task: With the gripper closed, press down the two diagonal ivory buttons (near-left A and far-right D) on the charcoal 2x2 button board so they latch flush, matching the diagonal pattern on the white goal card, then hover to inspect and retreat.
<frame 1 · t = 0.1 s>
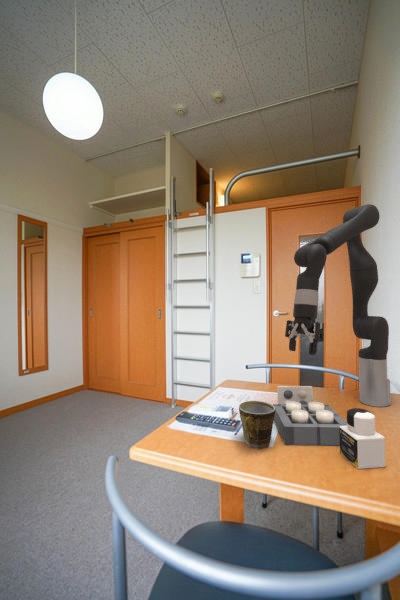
hand: (301, 352, 91), 22 cm above the table, tool pointing down, fingers open, 8 cm apart
medicine bottle: (361, 460, 68), on the table
board: (308, 431, 83), on the table
ceramic cup: (255, 446, 76), on the table
button B: (324, 417, 80), point 6 cm above the table, slide at 0.0 cm
button C: (293, 408, 87), point 6 cm above the table, slide at 0.0 cm
button D: (299, 417, 80), point 5 cm above the table, slide at 0.0 cm
goal card: (295, 411, 98), on the table
button A: (316, 408, 87), point 5 cm above the table, slide at 0.0 cm
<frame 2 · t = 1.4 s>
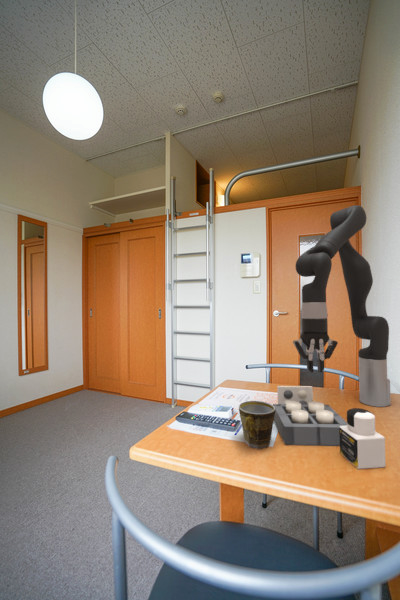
hand: (315, 371, 87), 17 cm above the table, tool pointing down, fingers closed
nothing on the table moved.
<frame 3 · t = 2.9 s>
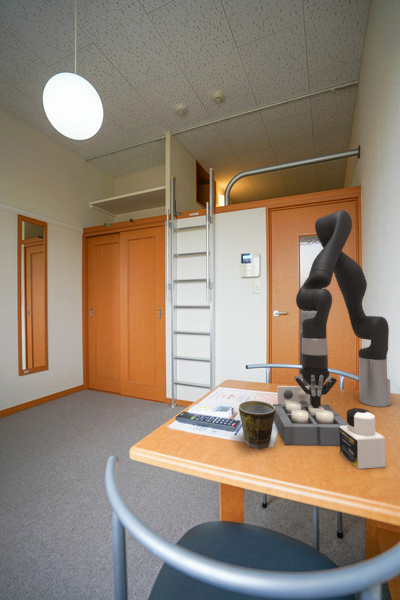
hand: (315, 407, 87), 6 cm above the table, tool pointing down, fingers closed
button A: (316, 412, 87), point 4 cm above the table, slide at 1.1 cm, touching gripper
everything else where it was.
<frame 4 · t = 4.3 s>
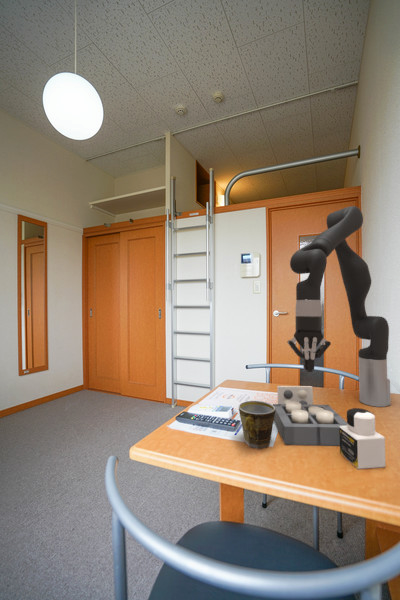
hand: (308, 371, 85), 18 cm above the table, tool pointing down, fingers closed
button A: (316, 413, 87), point 4 cm above the table, slide at 1.6 cm
everything else where it was.
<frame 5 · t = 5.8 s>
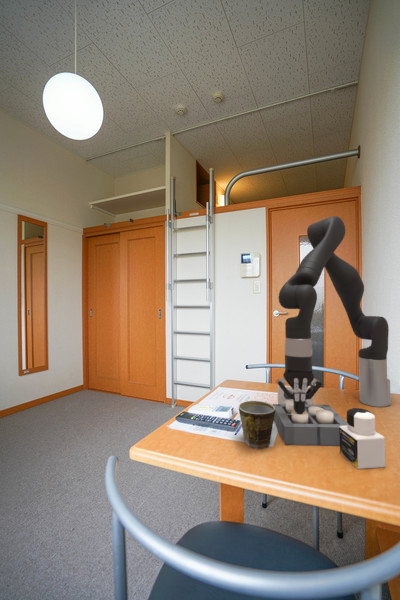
hand: (299, 413, 80), 7 cm above the table, tool pointing down, fingers closed
button D: (299, 418, 80), point 5 cm above the table, slide at 0.2 cm, touching gripper
everything else where it was.
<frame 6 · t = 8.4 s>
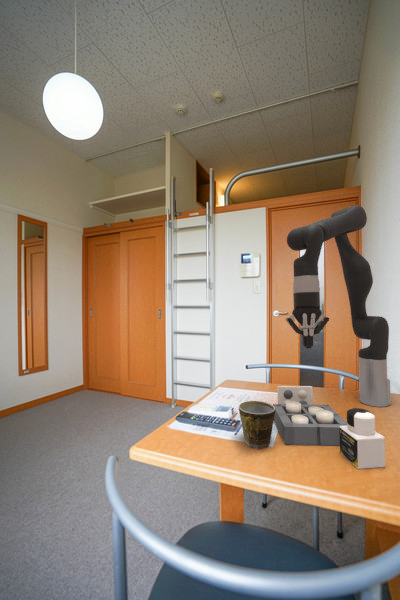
hand: (307, 347, 84), 25 cm above the table, tool pointing down, fingers closed
button D: (299, 423, 80), point 4 cm above the table, slide at 1.6 cm
everything else where it was.
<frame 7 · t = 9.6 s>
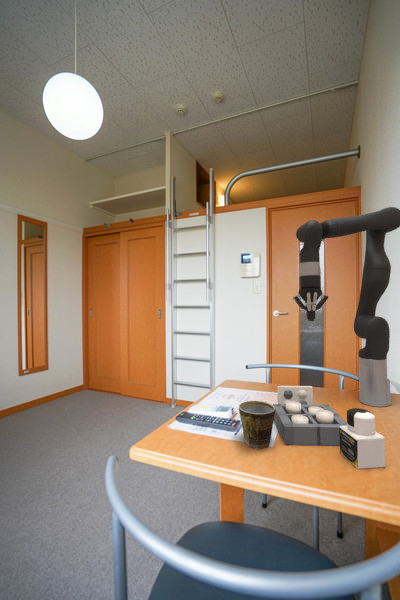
hand: (310, 320, 104), 32 cm above the table, tool pointing down, fingers closed
nothing on the table moved.
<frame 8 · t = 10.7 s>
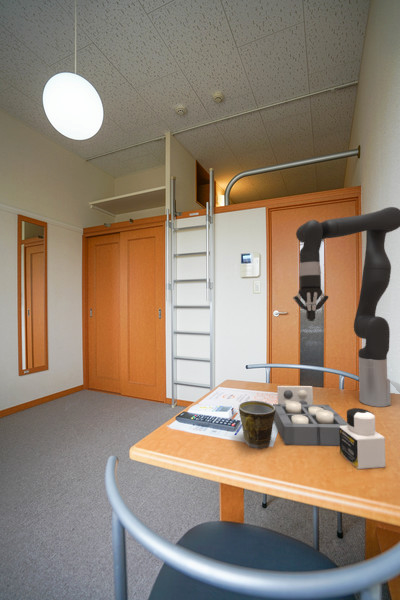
hand: (310, 320, 104), 32 cm above the table, tool pointing down, fingers closed
nothing on the table moved.
at the end: button A slide at 1.6 cm; button D slide at 1.6 cm; button B slide at 0.0 cm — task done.
